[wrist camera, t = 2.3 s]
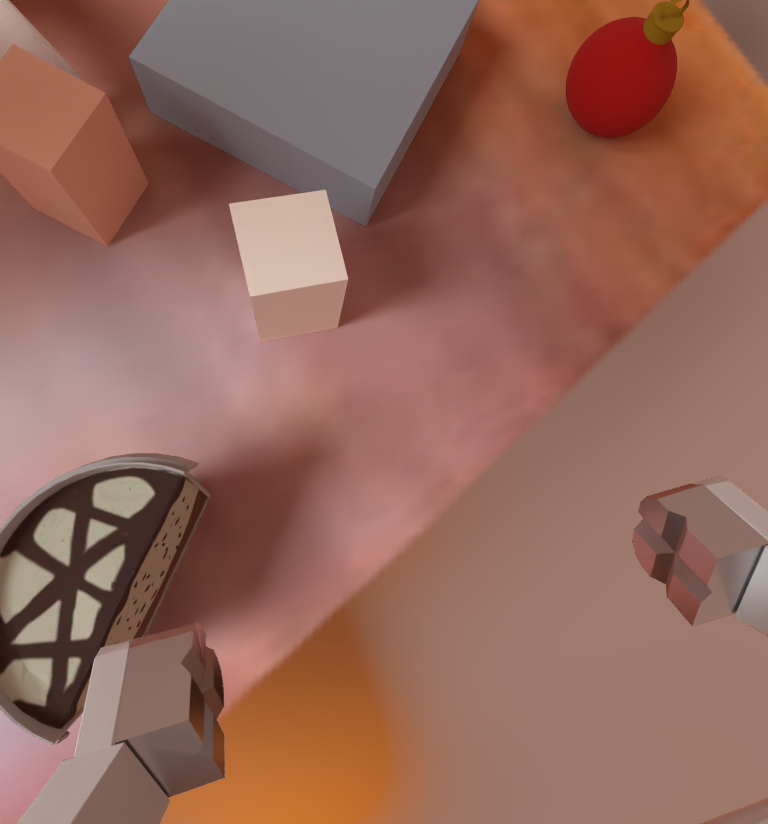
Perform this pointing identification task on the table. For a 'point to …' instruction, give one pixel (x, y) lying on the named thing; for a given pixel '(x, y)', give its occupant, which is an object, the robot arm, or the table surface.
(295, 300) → the off-white column
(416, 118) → the slate plinth block
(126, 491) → the food container
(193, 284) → the table surface
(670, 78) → the christmas ornament
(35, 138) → the terracotta column
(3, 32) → the spoon rest
